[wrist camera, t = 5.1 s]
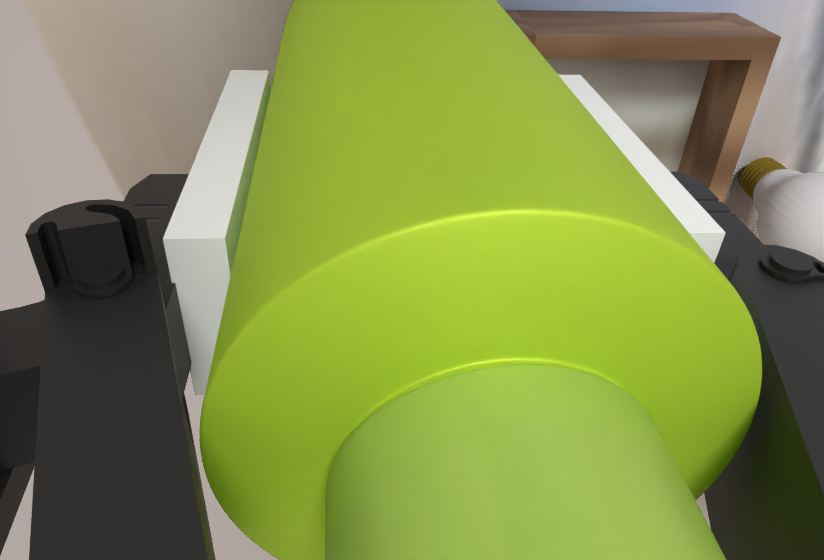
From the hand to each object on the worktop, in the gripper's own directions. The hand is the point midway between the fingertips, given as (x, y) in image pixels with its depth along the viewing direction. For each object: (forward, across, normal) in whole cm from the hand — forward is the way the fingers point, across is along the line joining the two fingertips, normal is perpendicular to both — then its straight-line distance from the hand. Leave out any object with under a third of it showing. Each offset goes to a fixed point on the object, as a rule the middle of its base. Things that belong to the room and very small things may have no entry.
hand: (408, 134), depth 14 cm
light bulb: (+25, +27, -13) cm, 39 cm away
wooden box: (+25, +14, -10) cm, 31 cm away
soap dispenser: (+4, 0, 0) cm, 4 cm away
